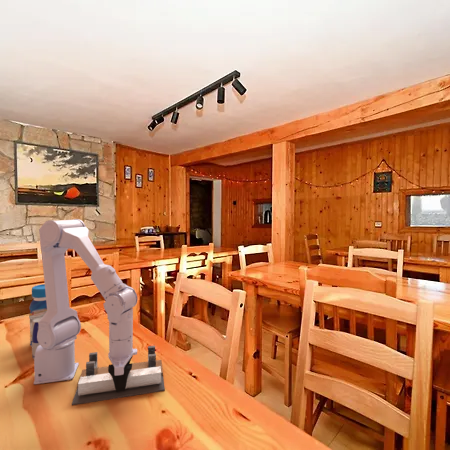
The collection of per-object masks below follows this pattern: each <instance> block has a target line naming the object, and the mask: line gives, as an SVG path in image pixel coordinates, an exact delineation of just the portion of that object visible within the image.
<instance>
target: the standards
mask: <svg viewBox="0 0 450 450" xmlns="http://www.w3.org/2000/svg"><path fill="white" fill-rule="evenodd" d="M88 357H89V358H88V360H89V361H86V364H85V369H82V370H81V373H80V376H79V379H78V382H77V384H76V386H77V388H78V383H79V380H80V377H84V376H91V375H99V374H106V373H109V371H108V367H109V365H108V366H100V367H98V351H96V352H89V355H88ZM131 363H132V368H131V370H136V369H144V368H151V367H159V366H161V376H163V377H164V371H163V370H164V369H163V363H162V359H158V360H157V353H156V346H155V345H149V346H147V361H141V362H131ZM77 388H76V389H77Z"/></svg>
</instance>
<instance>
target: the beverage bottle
mask: <svg viewBox="0 0 450 450" xmlns="http://www.w3.org/2000/svg"><path fill="white" fill-rule="evenodd" d="M31 297H32V301H31V302H30V305H29V311H30V312H29V314H28V318H29V337H30V339H29V340H30V341H29V344H30V347H31V348H32V320H33V319H34V318H37V317H41V316H44V315H45V314H46V312H47V302H46V292H45V283H43V284H36V285H33V286H32V288H31Z"/></svg>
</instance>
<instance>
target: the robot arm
mask: <svg viewBox="0 0 450 450" xmlns="http://www.w3.org/2000/svg"><path fill="white" fill-rule="evenodd" d="M38 233H39V242H40V251H41V260H42V270H43V280H44V284H45V292H46V302H47V312H46V314H45V315H44V316H43V317H42V318H41V319H40V321H39V322H38V324H39V329H38V333H37V340H38V343H39V344H40V345H39V346H38V347H37V349H36V352H35V357H34V359H33V362H34V363H33V364H34V365H33V366H34V368H33V369H34V374H33V375H34V381H33V385H40V384H45V383H55V382H56V383H57V382H62V381H69V380H73V379H74V377H75V374H76V372H77V370H78V367H79V365H80V364H79V362H76V358H75V357H76V355H75V354H76V353H75V343H76V342H75V341H76V340H77V335H79V334H80V332H81V329H82V323H81V321H80V319H79V316H78V311H77V310H76V309H74V308H72V307H70V301H69V300H70V298H69V290H68V289H69V286H68V277H67V276H68V275H67V268H66V267H67V266H66V258H65V253H67V251H68V250H74V251H75V252H76V253H77V255H78V256H79V257H80V259H81V260H82V261H83V262H84V264H86V265H85V266H87V267H88V268H89V269H90V271H91V276H90V280H91V282H93V284H94V285H95V287H96V288H97V290H98V291H99V293H100V294H101V296H102V297H103V299H104V302H103V309H104V311H105V312H106V314H107V320H108V323H109V324H108V325H109V326H108V329H109V330H108V332H109V333H108V335H109V336H108V339H109V340H108V341H109V342H108V343H109V345H108V348H109V349H108V350H109V351H108V355H107V356H108V357H107V358H108V359H109V361H110V363H111V364H108V366H109V367H108V366H107V367H108V371H109V373H110V375H111V376H112V378H113V381H114V385H115V389H116V392H119V391H125V388H126V383H127V378H128V375H129V372H130V371H131V368H132V363H133V362H131V361H132V359H133V357H134V356H135V355H138V349H137V348H134V347H133V345H134V343H133V341H134V340H133V338H134V335H133V334H134V332H133V331H134V329H133V328H134V325H133V324H134V316H133V315H134V307H135V306H136V305H137V304H138V294H137V292H136V290H135V289H134V288H133V287H131V286H129V285H127V284H126V283H123V281H122V279H121V278H120V276H119V275H118V273H117V272H116V271H117V270H116V268H114V267H113V266H112V265H110V264H106V263H104V261H103V259H102V258H101V256H100V254H99V253H98V250H97V249H96V247H95V245H94V244H93V243H92V241H91V239H90V237H89V234H90V229H88V227H87V226H86V223H85V222H84V221H83V220H82V219H79V218H75V219H63V220H60V219H58V220H54V219H53V220H52V219H49V220H46V221H45V222H43V224H42V225H41V226H40V227H39V229H38Z"/></svg>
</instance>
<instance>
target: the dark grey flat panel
mask: <svg viewBox="0 0 450 450" xmlns="http://www.w3.org/2000/svg"><path fill="white" fill-rule="evenodd" d="M165 387H166V386H165V381H164V375H163V376H161V383H160V384H153V385H146V386H140V387H133V388H126V389H125V391H119V392H116V390H113V391H106V392H100V393H93V394H86V395H80V396H78V388H76V391H75V393H74V396H73V399H72V402H71V406H74V405H75V406H77V405H82V404H89V403H94V402H102V401H109V400H114V399H115V400H116V399H120V398H128V397H132V396H139V395H147V394H152V393H153V394H154V393H158V392H165V391H166V390H165V389H166V388H165Z"/></svg>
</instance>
